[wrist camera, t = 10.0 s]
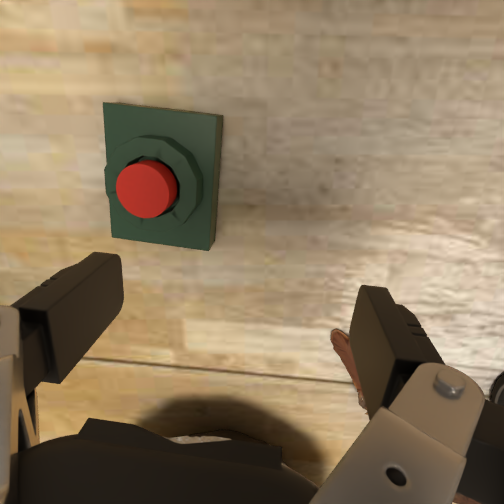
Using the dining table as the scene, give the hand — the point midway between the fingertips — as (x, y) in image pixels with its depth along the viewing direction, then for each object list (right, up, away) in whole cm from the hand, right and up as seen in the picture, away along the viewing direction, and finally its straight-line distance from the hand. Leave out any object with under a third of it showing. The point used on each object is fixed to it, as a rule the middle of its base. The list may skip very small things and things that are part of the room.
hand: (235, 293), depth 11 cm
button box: (-6, +7, +16) cm, 18 cm away
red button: (-6, +6, +12) cm, 15 cm away
